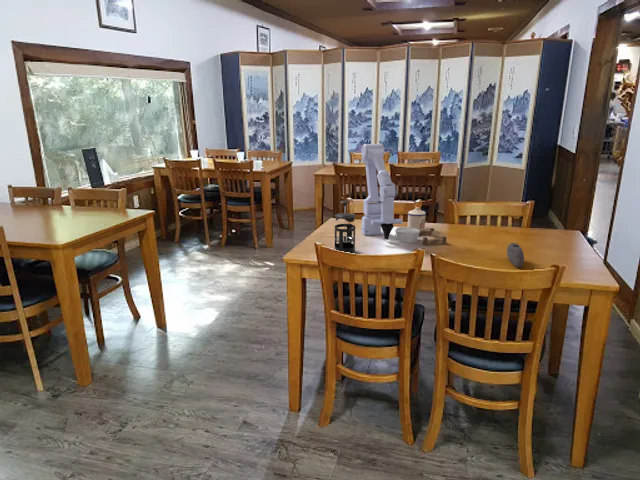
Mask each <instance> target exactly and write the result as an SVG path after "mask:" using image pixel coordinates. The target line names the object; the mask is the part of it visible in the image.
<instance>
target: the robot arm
mask: <svg viewBox="0 0 640 480" xmlns="http://www.w3.org/2000/svg"><path fill="white" fill-rule="evenodd" d="M360 152H361V159H362V160H361V161H362V162H363V163H364V164H365V173H366V174H365V175H366V184H367V185H366V186H367V193H368V194H367V195H368V196H367V197H366V198H365V199H364V200H363V206H362V211H363V214H364V215H363V216H362V217H361V230H360V231H361V233H362V234H363V235H364V236H379V235H383V238H384V240H389V238H390V236H391V232H392V230H393V229H394V225H396V224H400V225H403V224H404V223H403V222H404V221H403V219H402V218H394V209H395V207H394V206H395V197H396V196H397V194H398V190H397V186H396V184H395V183H394V182H392V178H391V175H390V173H389V171H387V170H386V167H385V162H384V155H385V146H384V144H383V143H368V144H367V143H364V144H362V146H361V151H360ZM378 185H379V188H378Z"/></svg>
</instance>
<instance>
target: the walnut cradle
mask: <svg viewBox="0 0 640 480" xmlns="http://www.w3.org/2000/svg"><path fill="white" fill-rule="evenodd" d="M419 236H424V237H422V245H423V246H429V245H430V246H431V245H432V246H433V245H445V244H447V238H448V237H447V236H445V235H444V236H442V235H440V234H439V233H437V232H436V231H435V228H434V227H429V229H426V230H425V229H424V230H421V231H420V233H419ZM419 236H418V237H419ZM425 236H432V237H433V238H428V237H425Z"/></svg>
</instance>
